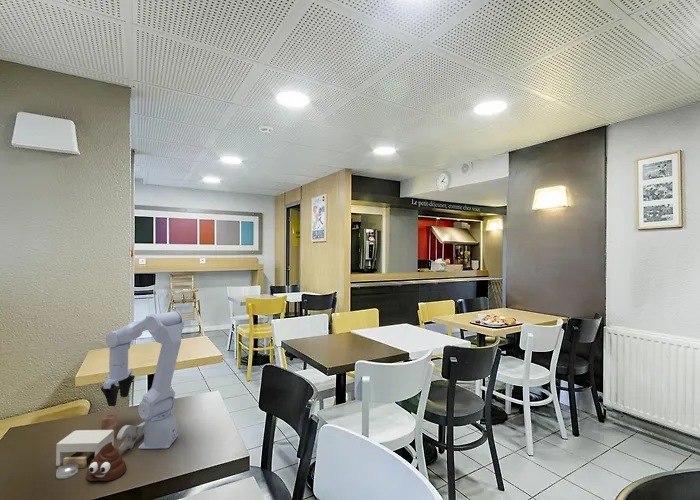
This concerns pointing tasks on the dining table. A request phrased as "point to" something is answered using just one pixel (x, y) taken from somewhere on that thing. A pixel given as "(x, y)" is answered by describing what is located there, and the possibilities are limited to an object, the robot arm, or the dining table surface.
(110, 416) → the push blade
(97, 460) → the poop emoji
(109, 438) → the white step stool
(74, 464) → the steel token
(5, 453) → the dining table surface
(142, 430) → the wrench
